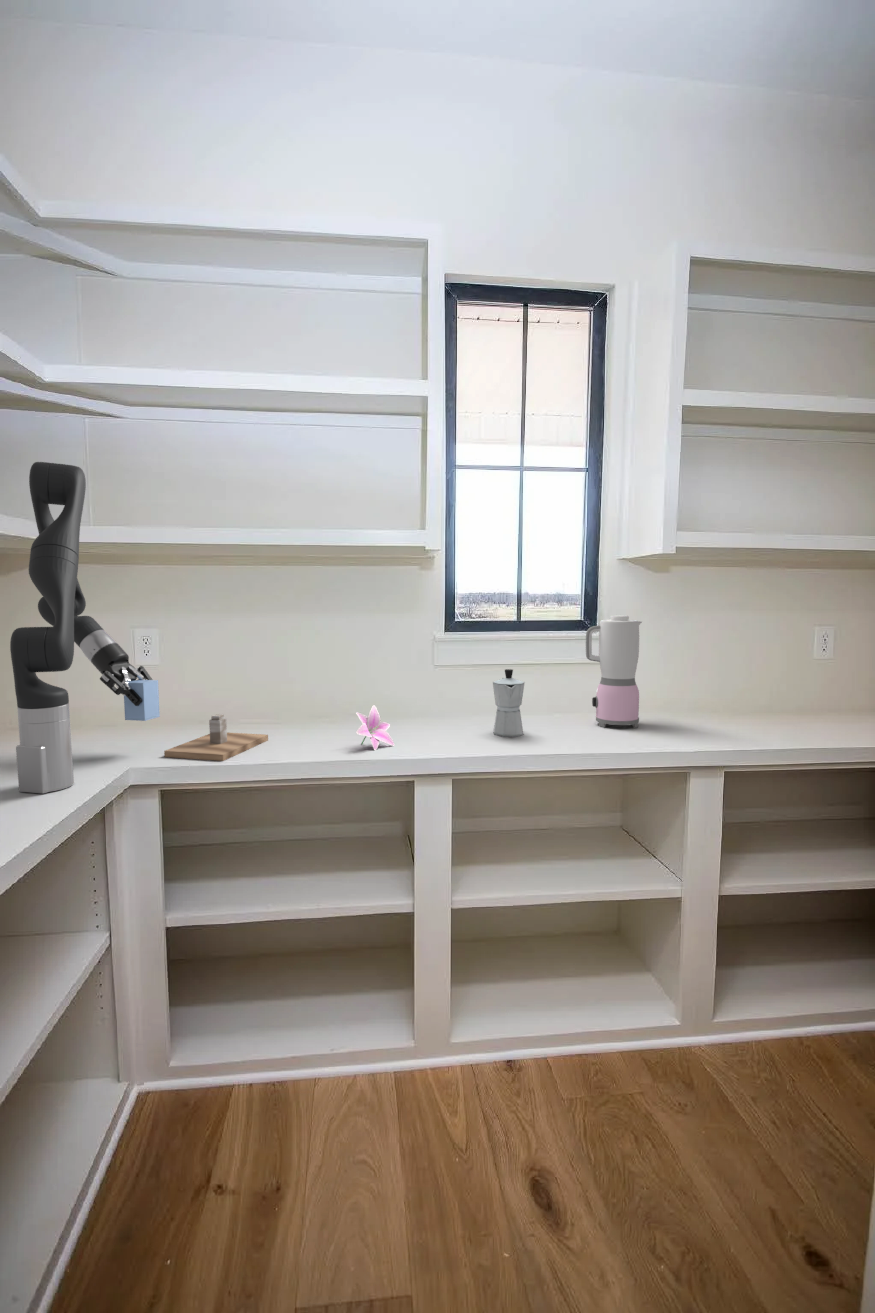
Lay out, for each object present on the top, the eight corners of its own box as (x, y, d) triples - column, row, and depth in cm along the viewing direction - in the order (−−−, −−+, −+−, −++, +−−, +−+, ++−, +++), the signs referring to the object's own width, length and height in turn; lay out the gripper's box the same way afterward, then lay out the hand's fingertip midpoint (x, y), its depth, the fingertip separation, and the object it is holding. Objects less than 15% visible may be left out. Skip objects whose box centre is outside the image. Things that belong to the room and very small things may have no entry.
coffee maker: (527, 738, 185) (527, 672, 183) (494, 738, 185) (494, 672, 183) (520, 726, 200) (520, 665, 198) (490, 727, 199) (490, 665, 198)
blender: (634, 721, 207) (637, 614, 203) (643, 729, 195) (646, 616, 191) (581, 720, 208) (583, 614, 205) (586, 729, 196) (588, 616, 193)
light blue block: (144, 720, 166) (143, 683, 165) (125, 720, 167) (123, 682, 166) (159, 716, 171) (158, 680, 170) (140, 716, 173) (138, 679, 172)
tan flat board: (223, 761, 163) (221, 725, 162) (164, 757, 167) (162, 722, 166) (268, 740, 184) (267, 708, 183) (215, 737, 188) (213, 706, 187)
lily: (348, 756, 171) (364, 725, 168) (338, 729, 180) (353, 699, 177) (390, 765, 177) (406, 735, 174) (378, 738, 186) (393, 709, 183)
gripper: (91, 644, 162) (137, 695, 161) (132, 640, 176) (175, 687, 174) (73, 665, 164) (119, 717, 162) (115, 660, 178) (157, 707, 176)
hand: (148, 701), depth 168 cm, fingers closed on light blue block, 5 cm apart
